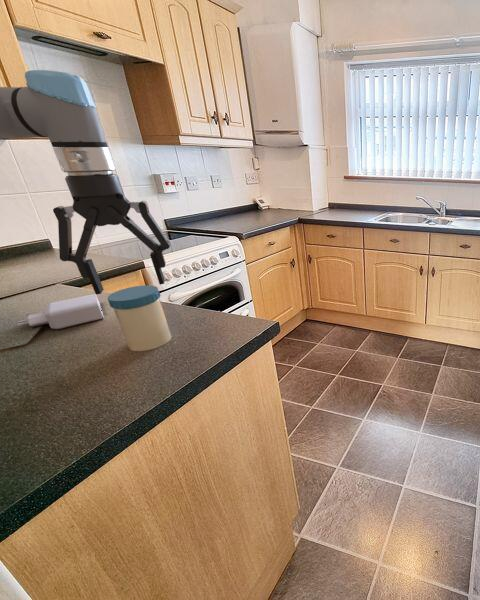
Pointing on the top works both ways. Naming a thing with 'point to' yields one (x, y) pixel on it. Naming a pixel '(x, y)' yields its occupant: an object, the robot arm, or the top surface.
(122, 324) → the jar
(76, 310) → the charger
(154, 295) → the lid
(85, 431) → the top surface
